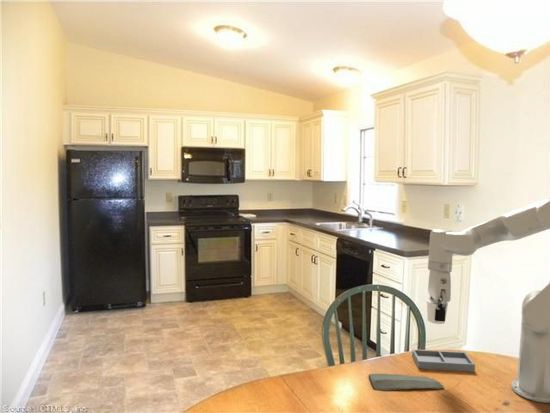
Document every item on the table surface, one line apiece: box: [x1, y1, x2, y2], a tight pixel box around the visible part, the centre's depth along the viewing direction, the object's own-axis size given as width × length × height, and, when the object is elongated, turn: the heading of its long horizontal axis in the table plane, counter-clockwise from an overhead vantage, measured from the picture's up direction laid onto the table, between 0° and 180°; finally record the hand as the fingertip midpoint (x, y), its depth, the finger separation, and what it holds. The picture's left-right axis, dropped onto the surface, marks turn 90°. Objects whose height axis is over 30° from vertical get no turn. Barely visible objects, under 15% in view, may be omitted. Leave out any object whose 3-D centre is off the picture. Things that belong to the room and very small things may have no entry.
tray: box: [411, 348, 476, 373], centre depth 147 cm, size 10×19×2 cm, turn 84°
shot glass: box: [426, 298, 449, 325], centre depth 143 cm, size 7×7×7 cm
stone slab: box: [368, 373, 445, 392], centre depth 134 cm, size 22×3×10 cm
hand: (436, 316), depth 143 cm, fingers closed on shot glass, 6 cm apart
